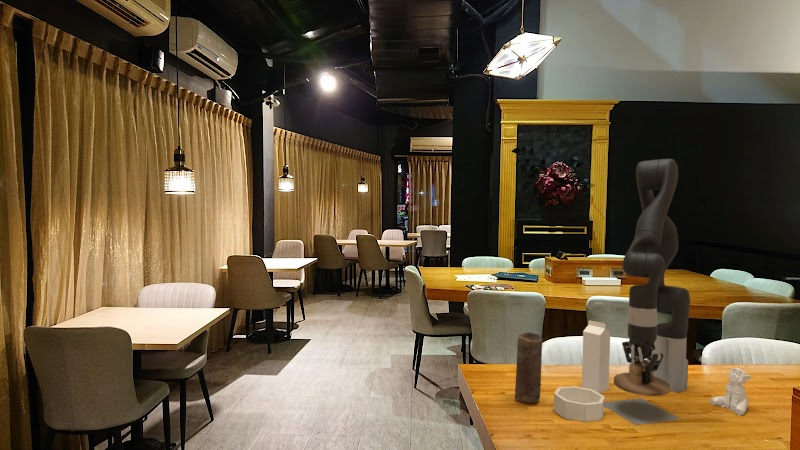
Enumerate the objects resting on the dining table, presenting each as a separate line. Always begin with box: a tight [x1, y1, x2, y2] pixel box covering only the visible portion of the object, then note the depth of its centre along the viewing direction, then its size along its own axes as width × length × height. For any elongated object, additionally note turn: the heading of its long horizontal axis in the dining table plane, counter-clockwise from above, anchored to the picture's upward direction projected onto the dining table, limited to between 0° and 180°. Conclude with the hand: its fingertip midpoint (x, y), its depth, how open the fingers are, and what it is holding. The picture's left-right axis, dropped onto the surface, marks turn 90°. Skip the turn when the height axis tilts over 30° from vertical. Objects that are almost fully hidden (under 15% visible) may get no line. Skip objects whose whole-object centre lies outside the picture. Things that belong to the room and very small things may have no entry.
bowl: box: [553, 385, 606, 422], centre depth 139 cm, size 13×13×5 cm
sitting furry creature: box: [709, 367, 752, 416], centre depth 144 cm, size 10×9×12 cm
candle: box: [514, 331, 543, 404], centre depth 147 cm, size 8×7×20 cm
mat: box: [604, 397, 681, 426], centre depth 140 cm, size 15×15×1 cm
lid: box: [613, 363, 671, 397], centre depth 139 cm, size 14×14×6 cm
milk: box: [581, 320, 611, 394], centre depth 156 cm, size 6×6×22 cm
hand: (641, 381), depth 140 cm, fingers closed on lid, 3 cm apart
